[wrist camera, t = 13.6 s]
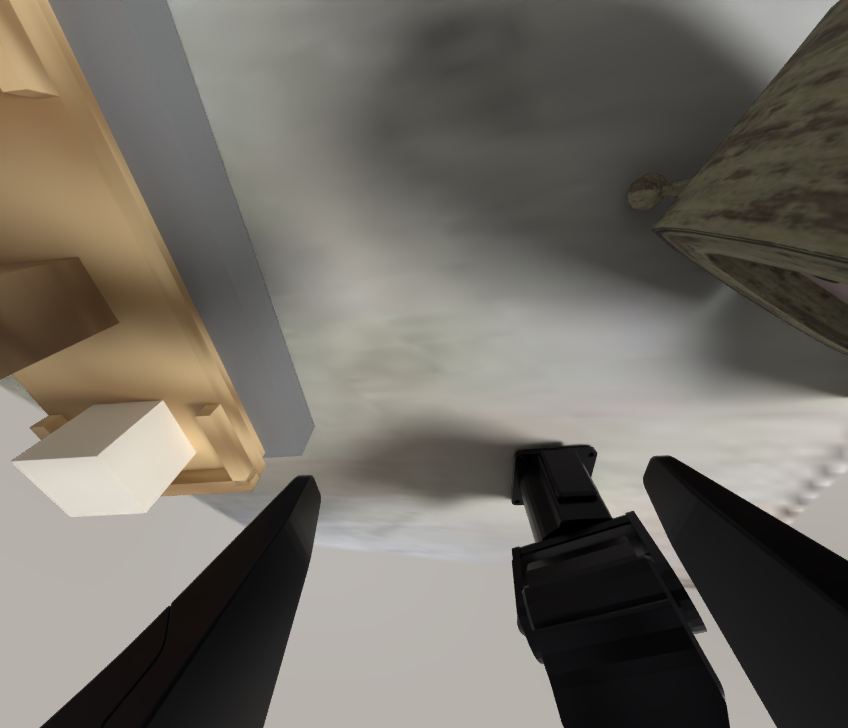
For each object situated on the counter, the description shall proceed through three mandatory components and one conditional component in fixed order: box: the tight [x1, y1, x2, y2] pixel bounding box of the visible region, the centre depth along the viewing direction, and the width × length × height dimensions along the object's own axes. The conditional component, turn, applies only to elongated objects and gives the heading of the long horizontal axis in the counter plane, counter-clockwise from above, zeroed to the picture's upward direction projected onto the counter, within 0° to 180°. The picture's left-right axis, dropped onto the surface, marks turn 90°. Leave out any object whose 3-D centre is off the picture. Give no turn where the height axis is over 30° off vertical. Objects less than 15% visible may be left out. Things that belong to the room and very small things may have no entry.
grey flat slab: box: [48, 0, 315, 458], centre depth 17 cm, size 26×14×3 cm, turn 5°
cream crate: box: [11, 400, 196, 517], centre depth 16 cm, size 4×4×4 cm
